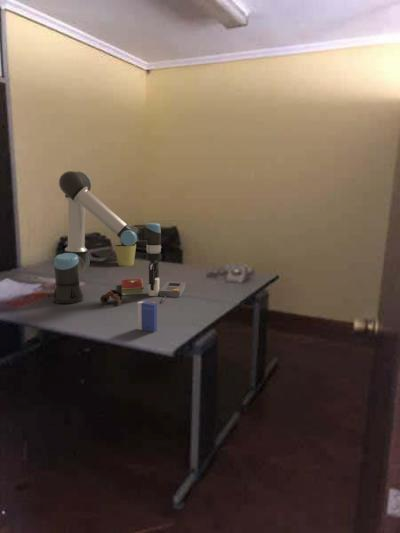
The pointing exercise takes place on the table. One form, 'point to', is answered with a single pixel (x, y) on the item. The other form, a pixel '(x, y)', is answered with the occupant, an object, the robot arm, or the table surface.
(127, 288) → the hardcover book
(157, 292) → the charger brick
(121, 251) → the potted cactus
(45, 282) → the table surface
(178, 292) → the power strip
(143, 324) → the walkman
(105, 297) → the brown arched piece
